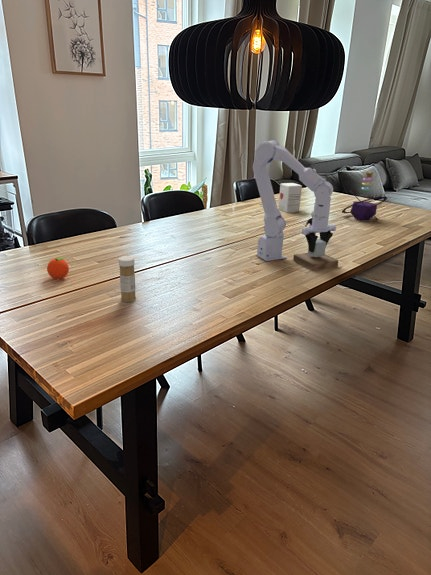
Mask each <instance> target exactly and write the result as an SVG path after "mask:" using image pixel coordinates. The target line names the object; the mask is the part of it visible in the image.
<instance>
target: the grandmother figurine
mask: <svg viewBox="0 0 431 575" xmlns="http://www.w3.org/2000/svg"><path fill="white" fill-rule="evenodd" d="M313 212H314V210H312V212H310V216H311V217H310V218H309V219H308V220H307V221H306V223H305V224H304V228H307V227H310V226H312V220H313ZM315 235H316V236H317V233H315Z"/></svg>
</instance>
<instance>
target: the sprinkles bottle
mask: <svg viewBox="0 0 431 575" xmlns="http://www.w3.org/2000/svg"><path fill="white" fill-rule="evenodd" d="M118 265H119V284H120V296H121V298H120V300H121V301H122V302H124V303H132V302H134V301H136V300H137V297H136V275H135V274H136V273H135V257H134V256H130V255H124V256H120V257H119V258H118Z"/></svg>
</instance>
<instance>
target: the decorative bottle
mask: <svg viewBox="0 0 431 575" xmlns="http://www.w3.org/2000/svg"><path fill="white" fill-rule="evenodd" d="M373 173H374V172H373V171H365V177H363V178H362V180H363V181H364V182H361V184H362V187H361V190H363V191H368V192H369V191H371V190H373V188H372V187H371V186H373V185H374V184H373V183H372V182H373V181H374V180H375V179H374V178H372V176H373ZM363 186H364V187H363ZM349 191H350V193H351V194H352V195H353V196H354V197H355V198H356V199H357V200H356V201H353V203H352V204H351V205H349V206H346V207H345V208H344V209H342V211H341V213H342V214H351V216H352V217H353V218H354V219H355V220H357V221H361V222H362V221H363V222H364V221H370V219H372V218H373V217H374V218H375V219H376V220H377V221H379V218H377V217H376V214H377V209H378V208H377V207H378V205H381V204H382V203H384V202H385V201H387V199H388V197H387V196H375V197H372V198H366V199H364V200H361V199H360V198H359V197H357V195H356V194H355V193H354V192H352V190H349ZM377 199H383V200H382V201H380V202H378V203H374V202H371V200H377ZM350 207H351V209H350ZM347 209H350V211H346V210H347Z"/></svg>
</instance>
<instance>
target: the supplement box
mask: <svg viewBox="0 0 431 575" xmlns="http://www.w3.org/2000/svg"><path fill="white" fill-rule="evenodd" d="M302 190H303V185H301V184H298V183H294V182H284V183H280V186H279V197H278V206H277V208H278V210H279V211H280V212H283V213H286V214H289V213H290V214H291V213H298V212H300V206H301V197H302Z"/></svg>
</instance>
